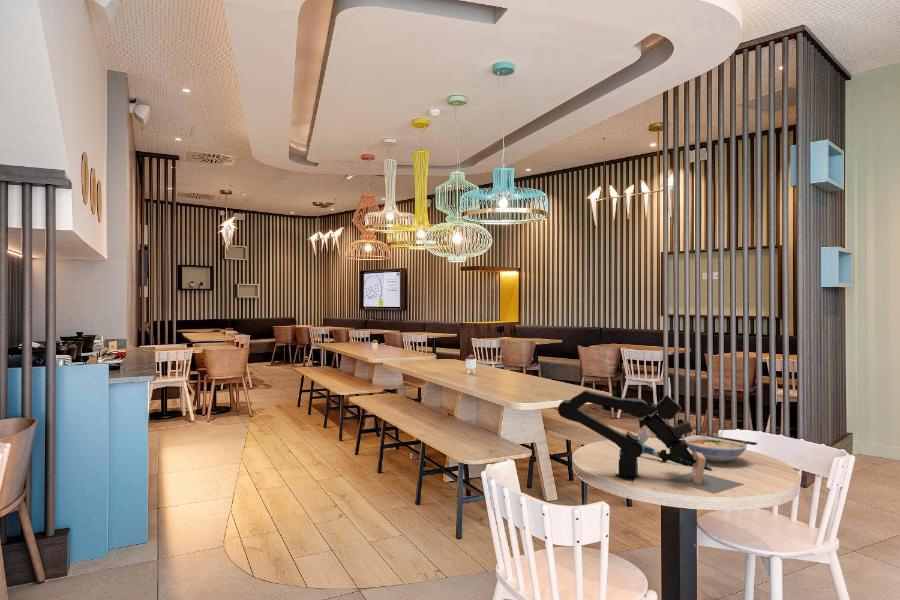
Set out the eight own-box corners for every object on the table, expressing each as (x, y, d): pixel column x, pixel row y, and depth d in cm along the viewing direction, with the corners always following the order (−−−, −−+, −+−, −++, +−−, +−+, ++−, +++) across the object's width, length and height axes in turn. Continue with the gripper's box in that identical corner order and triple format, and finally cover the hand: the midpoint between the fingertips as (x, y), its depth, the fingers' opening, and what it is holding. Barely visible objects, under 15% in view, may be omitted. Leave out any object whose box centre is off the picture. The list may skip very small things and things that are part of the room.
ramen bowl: (669, 458, 226) (669, 437, 227) (699, 449, 240) (699, 430, 241) (732, 472, 207) (732, 449, 207) (761, 462, 221) (761, 441, 221)
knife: (634, 452, 229) (635, 442, 229) (639, 451, 231) (640, 440, 231) (708, 478, 205) (709, 466, 205) (712, 477, 207) (713, 465, 207)
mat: (714, 495, 181) (714, 493, 181) (665, 480, 195) (665, 479, 195) (744, 485, 191) (744, 484, 191) (695, 472, 206) (695, 471, 206)
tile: (694, 483, 190) (698, 457, 190) (690, 476, 198) (695, 451, 197) (701, 485, 189) (706, 458, 189) (697, 478, 197) (702, 453, 197)
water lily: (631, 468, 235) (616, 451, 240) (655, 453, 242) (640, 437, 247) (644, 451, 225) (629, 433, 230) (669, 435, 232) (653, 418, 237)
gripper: (681, 417, 187) (718, 453, 183) (674, 408, 205) (708, 440, 201) (655, 440, 188) (692, 476, 185) (651, 429, 206) (684, 461, 203)
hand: (694, 462), depth 194 cm, fingers closed
